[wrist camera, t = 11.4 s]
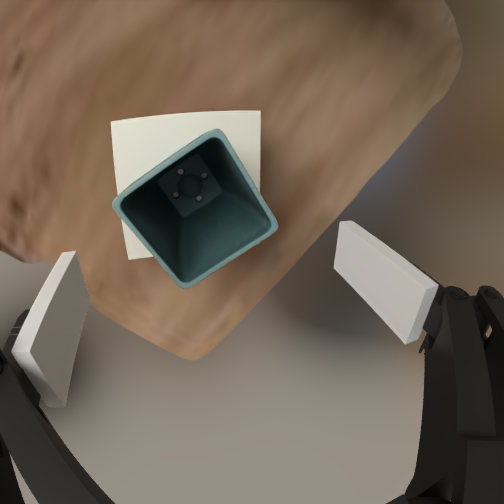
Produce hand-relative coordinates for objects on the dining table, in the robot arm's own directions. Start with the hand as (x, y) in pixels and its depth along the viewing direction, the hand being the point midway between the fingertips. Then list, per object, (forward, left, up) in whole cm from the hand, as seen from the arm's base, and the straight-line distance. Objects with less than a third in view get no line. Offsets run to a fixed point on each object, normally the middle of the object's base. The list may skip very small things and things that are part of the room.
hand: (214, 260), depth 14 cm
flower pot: (0, 0, -16) cm, 16 cm away
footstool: (0, 0, -24) cm, 24 cm away
